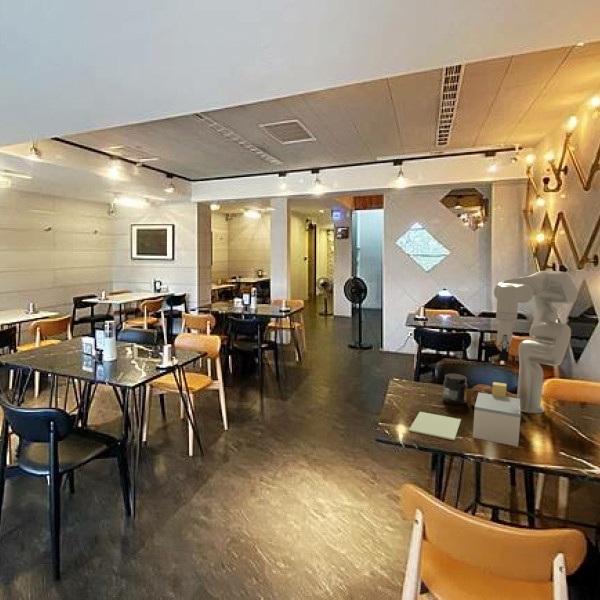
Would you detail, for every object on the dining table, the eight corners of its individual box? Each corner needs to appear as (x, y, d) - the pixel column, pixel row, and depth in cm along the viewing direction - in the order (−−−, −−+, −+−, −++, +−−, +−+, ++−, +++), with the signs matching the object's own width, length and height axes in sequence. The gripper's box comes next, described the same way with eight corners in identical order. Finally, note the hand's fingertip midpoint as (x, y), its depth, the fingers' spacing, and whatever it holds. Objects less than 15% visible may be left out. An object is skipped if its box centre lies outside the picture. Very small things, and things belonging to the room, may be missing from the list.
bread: (468, 405, 191) (470, 384, 190) (483, 401, 196) (484, 381, 195) (506, 419, 175) (508, 397, 174) (521, 414, 180) (523, 392, 179)
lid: (478, 395, 175) (479, 380, 174) (519, 401, 168) (520, 385, 167) (474, 412, 156) (475, 395, 155) (520, 420, 149) (521, 402, 148)
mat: (419, 412, 181) (419, 411, 180) (460, 420, 173) (461, 419, 173) (408, 431, 162) (408, 429, 162) (454, 440, 154) (454, 439, 154)
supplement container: (468, 399, 198) (469, 375, 196) (464, 406, 189) (465, 381, 187) (445, 395, 203) (446, 371, 202) (440, 402, 194) (441, 377, 193)
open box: (476, 420, 173) (478, 395, 172) (517, 427, 166) (519, 401, 165) (472, 437, 157) (474, 409, 156) (518, 446, 150) (520, 417, 149)
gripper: (497, 312, 173) (494, 352, 175) (495, 318, 158) (492, 362, 160) (517, 313, 170) (514, 354, 172) (517, 320, 155) (514, 364, 157)
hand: (503, 357), depth 166 cm, fingers open, 9 cm apart
